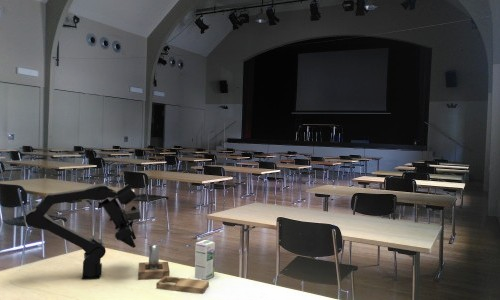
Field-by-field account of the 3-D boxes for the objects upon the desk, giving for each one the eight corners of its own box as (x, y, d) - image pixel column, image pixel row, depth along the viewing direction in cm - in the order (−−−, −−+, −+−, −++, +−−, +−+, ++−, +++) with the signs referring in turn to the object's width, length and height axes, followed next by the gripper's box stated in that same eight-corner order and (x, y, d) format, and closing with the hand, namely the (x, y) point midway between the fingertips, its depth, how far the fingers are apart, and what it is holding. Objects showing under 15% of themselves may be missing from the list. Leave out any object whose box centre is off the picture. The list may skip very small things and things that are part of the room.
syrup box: (205, 280, 167) (207, 244, 167) (194, 277, 170) (195, 241, 170) (214, 276, 172) (215, 241, 171) (202, 273, 175) (204, 239, 175)
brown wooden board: (156, 288, 157) (156, 283, 157) (164, 281, 165) (164, 275, 165) (202, 293, 154) (202, 288, 153) (208, 286, 161) (208, 281, 161)
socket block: (138, 279, 165) (138, 272, 165) (138, 269, 177) (138, 262, 176) (169, 278, 168) (169, 271, 168) (167, 268, 179) (167, 261, 179)
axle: (151, 276, 169) (152, 246, 169) (146, 273, 172) (147, 244, 172) (160, 274, 172) (161, 245, 171) (155, 271, 175) (156, 243, 174)
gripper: (132, 208, 161) (152, 240, 164) (133, 195, 178) (152, 225, 182) (105, 223, 159) (127, 255, 163) (109, 209, 177) (129, 238, 181)
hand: (134, 243), depth 172 cm, fingers open, 9 cm apart
